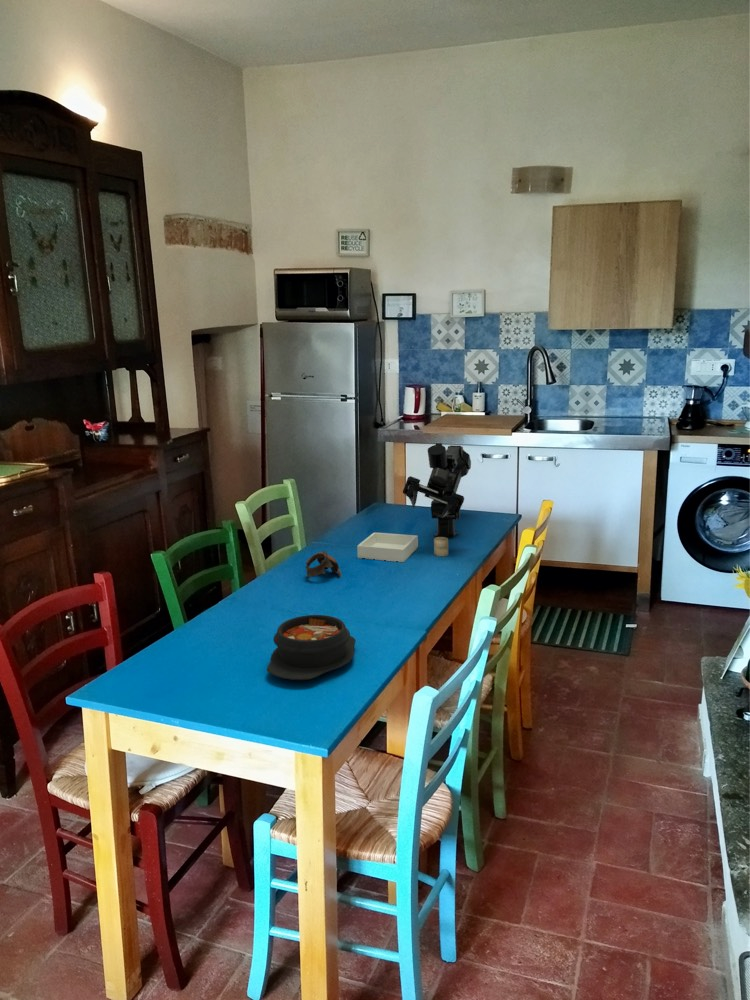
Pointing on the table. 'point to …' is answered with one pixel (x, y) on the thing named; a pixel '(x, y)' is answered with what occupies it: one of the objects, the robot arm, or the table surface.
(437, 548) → the wooden cylinder
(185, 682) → the table surface
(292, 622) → the casserole
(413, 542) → the gray and white box
